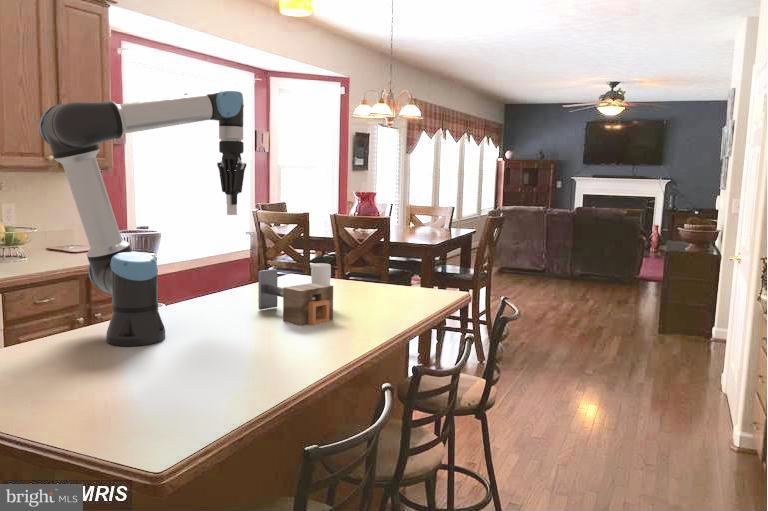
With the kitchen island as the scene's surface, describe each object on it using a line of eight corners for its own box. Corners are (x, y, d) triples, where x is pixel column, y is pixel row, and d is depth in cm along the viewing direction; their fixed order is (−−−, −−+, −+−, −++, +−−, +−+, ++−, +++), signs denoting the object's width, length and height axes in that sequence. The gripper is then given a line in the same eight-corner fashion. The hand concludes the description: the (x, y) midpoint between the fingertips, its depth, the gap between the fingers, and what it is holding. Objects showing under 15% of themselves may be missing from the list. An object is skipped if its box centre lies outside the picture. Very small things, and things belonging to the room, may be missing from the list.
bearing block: (299, 325, 195) (299, 291, 194) (283, 321, 201) (283, 287, 199) (332, 318, 205) (333, 285, 204) (316, 314, 211) (316, 282, 209)
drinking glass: (331, 305, 226) (332, 263, 224) (328, 309, 219) (328, 266, 217) (313, 304, 226) (313, 262, 224) (309, 308, 220) (309, 265, 218)
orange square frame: (312, 325, 196) (312, 303, 196) (308, 324, 198) (308, 302, 197) (329, 321, 202) (329, 300, 201) (324, 320, 203) (325, 299, 202)
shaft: (305, 321, 198) (306, 280, 197) (258, 309, 215) (258, 271, 213) (322, 318, 204) (322, 278, 202) (275, 306, 220) (275, 268, 218)
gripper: (253, 141, 201) (253, 215, 204) (229, 141, 210) (230, 213, 213) (233, 139, 196) (233, 216, 199) (209, 140, 204) (210, 213, 208)
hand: (231, 214), depth 206 cm, fingers closed
